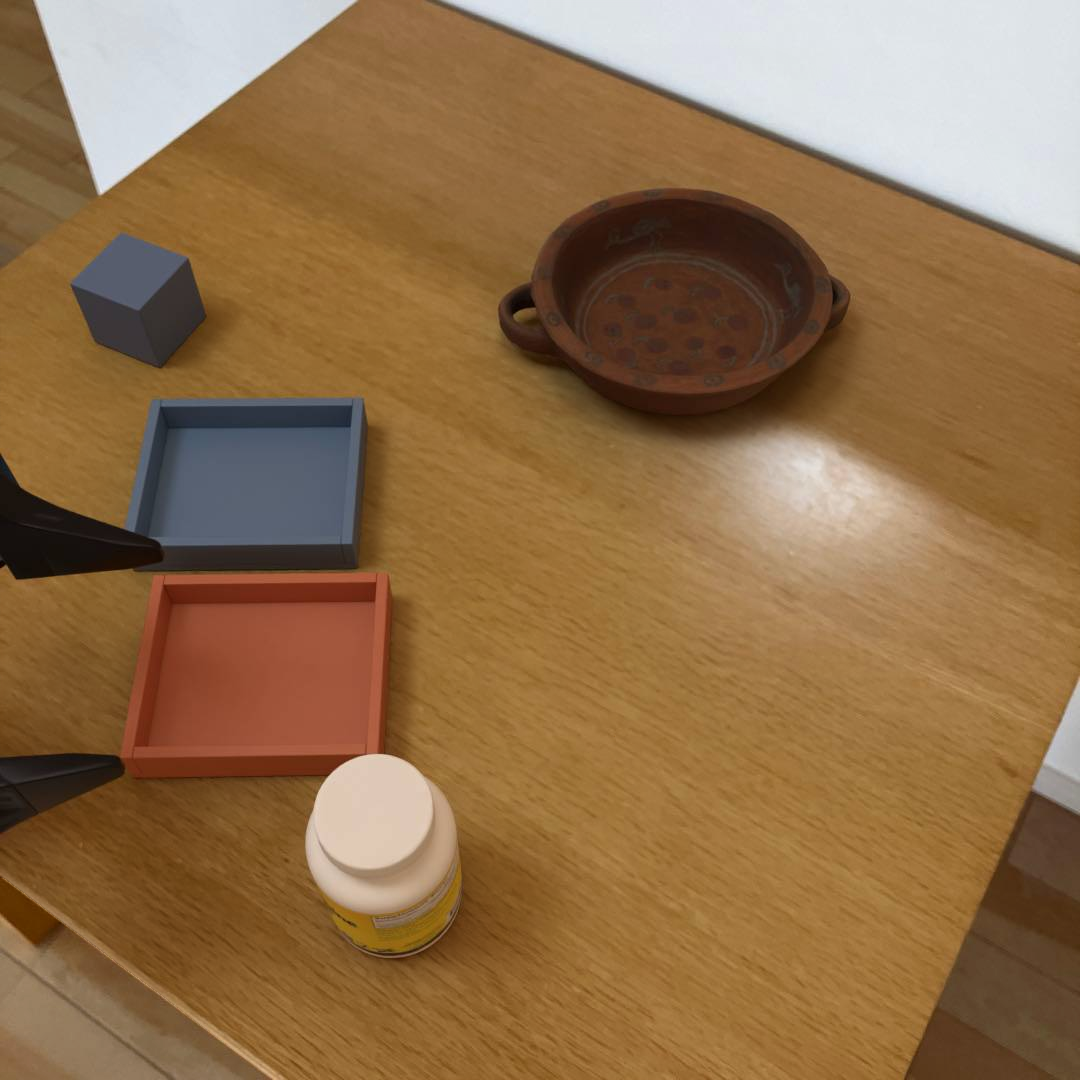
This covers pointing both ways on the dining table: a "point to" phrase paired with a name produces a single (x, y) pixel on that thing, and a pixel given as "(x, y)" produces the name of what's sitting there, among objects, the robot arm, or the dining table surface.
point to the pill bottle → (385, 855)
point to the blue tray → (251, 483)
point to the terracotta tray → (259, 675)
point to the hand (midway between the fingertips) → (143, 652)
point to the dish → (676, 299)
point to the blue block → (139, 299)
